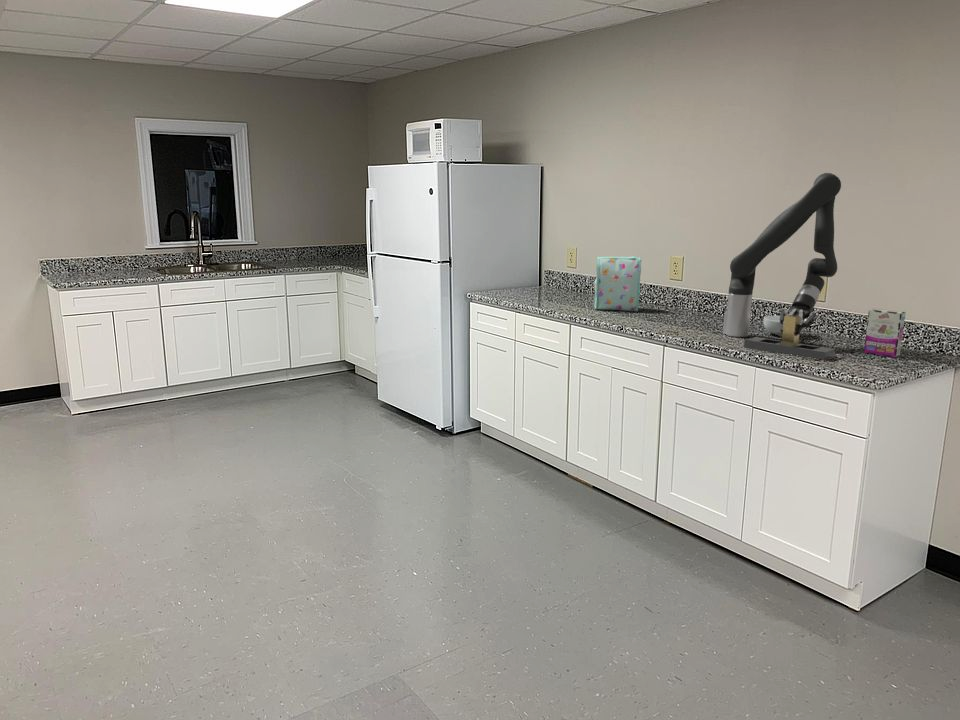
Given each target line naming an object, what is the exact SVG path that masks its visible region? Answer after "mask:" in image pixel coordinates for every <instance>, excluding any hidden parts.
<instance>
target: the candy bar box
mask: <svg viewBox="0 0 960 720" xmlns="http://www.w3.org/2000/svg"><path fill="white" fill-rule="evenodd" d="M905 319H906V311H901V310H899V311H898V310H890V309H889V310H888V309H882V308H881V309H879V308H871V309H868V315H867V323H866V331H865V339H864V347H863V353H864V354H867V353H871V354H870V355H874V354H877V355H876V356H881V355H882V356H883V357H890V358H897V357H900V356H901V349H902V343H903V335H904V327H905Z"/></svg>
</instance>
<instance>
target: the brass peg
mask: <svg viewBox="0 0 960 720" xmlns="http://www.w3.org/2000/svg"><path fill="white" fill-rule="evenodd" d="M800 318H801V316H795V315H789V314H787V315H786V316H784V324H783V334H782V336H781V341H785V342H792V343H798V344H799V343H800V334H799V335H797V336H795V334H794V331H795V329H796V327H797V325H799V321H800Z"/></svg>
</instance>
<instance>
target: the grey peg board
mask: <svg viewBox="0 0 960 720" xmlns="http://www.w3.org/2000/svg"><path fill="white" fill-rule="evenodd" d="M743 348H744V349H745V348H746V349H751V350H757V351H762V350H763V352H764V351H765V352H768V351H770V352H769V353H775V352H776V354H781V353H784V354H783V355H787V354H792V355H791V356H793V355H798V356H797V357H799V356H804V357H803V358H805V357H811V358H816V359H815V360H817V359H821V360H820V361H823V360H825V361H827V360H826V359H828V360H830V359H829V358H831V359H833V358H832V357H834V358H835V357H836V350H837V349H836V348H830V347H823V346H817V345H811V344H804V343H799V342H798V343H792V342H785V341H782V340H778V339H773V338H772V339H771V338H766V337H765V338H764V337H760V336H759V337H757V336H755V337H750V338H746V339H744V341H743ZM811 358H810V359H811Z"/></svg>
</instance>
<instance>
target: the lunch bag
mask: <svg viewBox="0 0 960 720" xmlns="http://www.w3.org/2000/svg"><path fill="white" fill-rule="evenodd" d="M596 259H597V263H596V276H595V277H596V278H595V280H594V299H593V300H594V301H593V305H594V309H595V310H604V311H605V310H606V311H607V310H608V311H611V310H613V311H626V312H628V311H629V312H639V303H640V301H639V300H640V292H641V285H640V283H641V273H642V266H641V265H642V259H641V257H637V256H634V255H633V256H597V258H596Z"/></svg>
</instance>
